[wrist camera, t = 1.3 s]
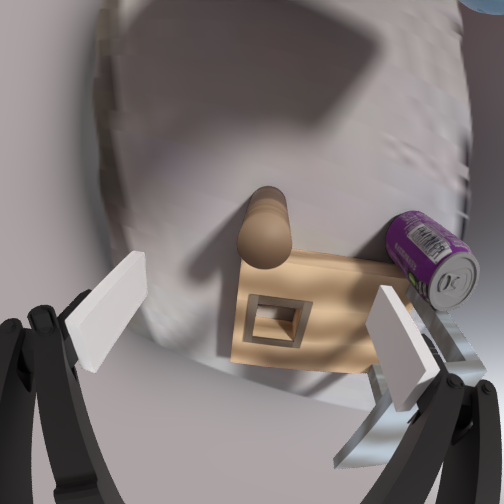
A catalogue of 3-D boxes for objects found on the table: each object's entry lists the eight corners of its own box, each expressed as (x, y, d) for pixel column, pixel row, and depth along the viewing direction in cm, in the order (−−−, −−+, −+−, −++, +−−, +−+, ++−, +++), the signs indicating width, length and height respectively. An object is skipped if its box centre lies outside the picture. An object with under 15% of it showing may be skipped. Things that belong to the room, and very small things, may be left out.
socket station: (245, 242, 33) (214, 366, 16) (411, 266, 33) (487, 370, 15) (233, 342, 40) (211, 461, 22) (372, 355, 40) (403, 460, 22)
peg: (252, 183, 31) (239, 214, 20) (288, 188, 31) (296, 222, 20) (248, 218, 32) (234, 265, 21) (283, 222, 32) (287, 273, 21)
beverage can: (377, 259, 33) (414, 315, 22) (390, 204, 30) (440, 243, 19) (422, 263, 33) (466, 315, 22) (436, 213, 30) (491, 252, 19)
